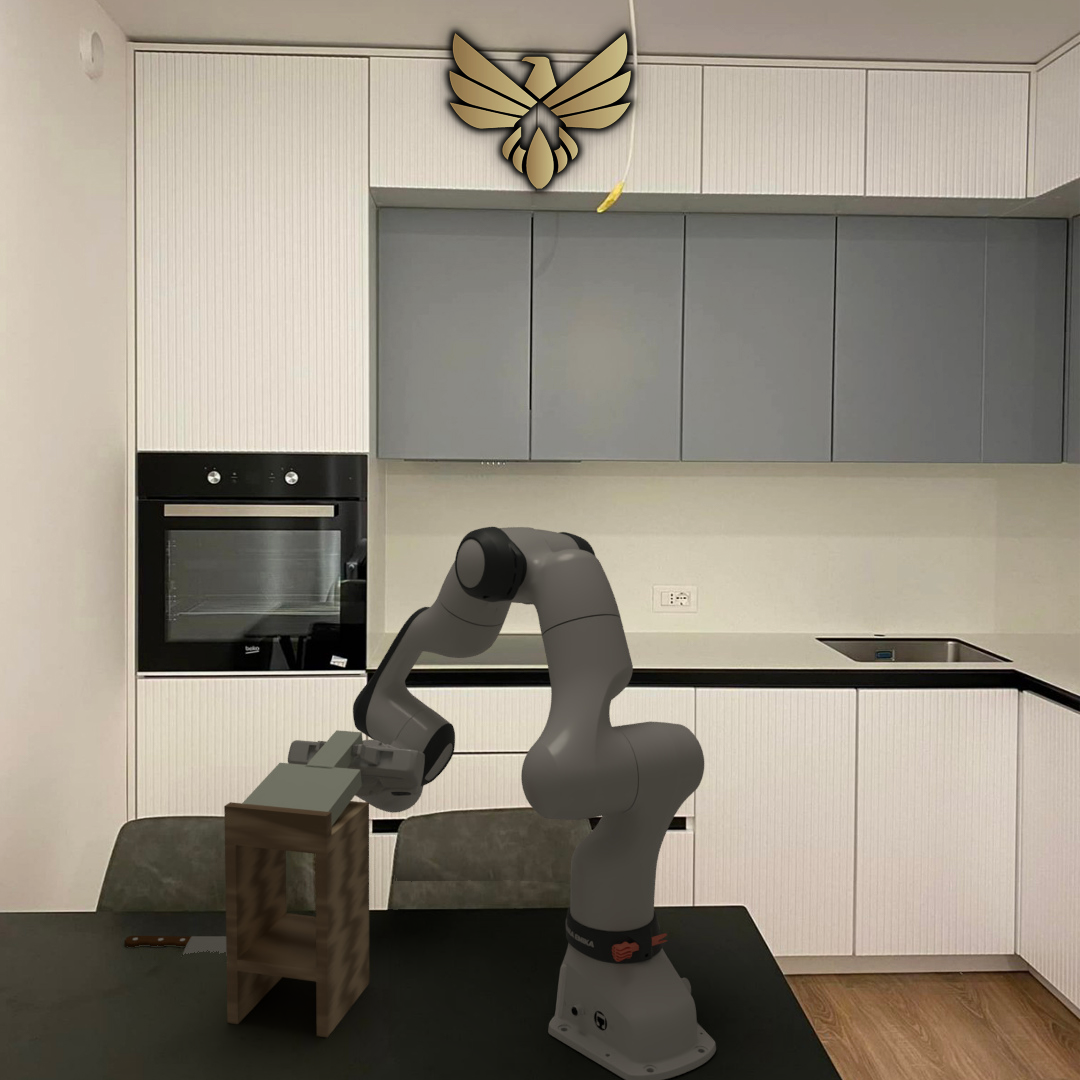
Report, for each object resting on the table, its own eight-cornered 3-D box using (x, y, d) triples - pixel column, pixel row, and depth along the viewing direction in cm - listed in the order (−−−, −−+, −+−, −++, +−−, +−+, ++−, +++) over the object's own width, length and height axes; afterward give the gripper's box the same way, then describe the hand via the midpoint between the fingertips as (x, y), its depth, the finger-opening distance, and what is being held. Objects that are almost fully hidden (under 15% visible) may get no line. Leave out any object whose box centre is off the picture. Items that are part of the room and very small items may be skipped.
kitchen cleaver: (107, 963, 153) (132, 928, 163) (107, 970, 153) (132, 934, 163) (277, 966, 153) (292, 930, 163) (277, 973, 154) (292, 937, 163)
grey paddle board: (312, 743, 159) (311, 728, 158) (388, 749, 156) (387, 734, 156) (242, 822, 139) (239, 805, 138) (328, 831, 136) (326, 814, 135)
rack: (277, 970, 152) (275, 773, 150) (369, 983, 149) (369, 781, 146) (227, 1022, 139) (224, 806, 136) (327, 1037, 136) (326, 816, 133)
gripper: (312, 744, 169) (276, 721, 157) (435, 754, 165) (408, 731, 152) (303, 784, 167) (267, 763, 154) (428, 795, 162) (400, 775, 150)
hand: (338, 747), depth 153 cm, fingers closed on grey paddle board, 4 cm apart
